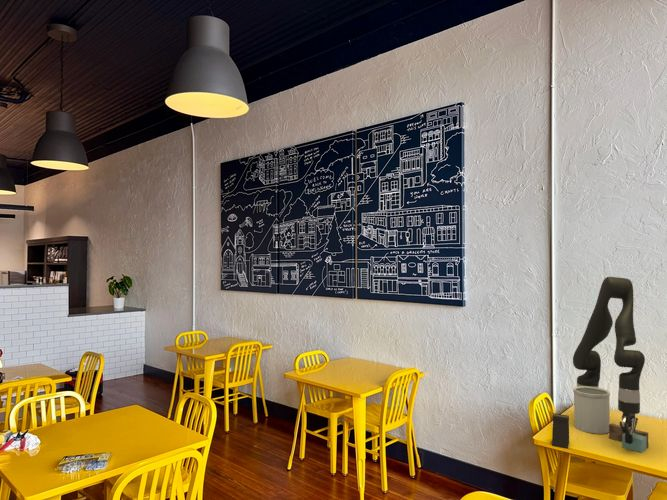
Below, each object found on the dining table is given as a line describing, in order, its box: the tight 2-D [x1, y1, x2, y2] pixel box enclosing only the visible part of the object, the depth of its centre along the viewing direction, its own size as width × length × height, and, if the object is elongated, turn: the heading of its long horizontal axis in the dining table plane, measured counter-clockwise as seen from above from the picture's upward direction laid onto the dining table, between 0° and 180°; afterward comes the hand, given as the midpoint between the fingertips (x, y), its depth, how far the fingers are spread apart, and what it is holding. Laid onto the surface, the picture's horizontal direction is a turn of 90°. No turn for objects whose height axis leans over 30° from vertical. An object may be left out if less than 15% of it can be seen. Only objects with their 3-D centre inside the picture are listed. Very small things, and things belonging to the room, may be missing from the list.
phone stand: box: [551, 412, 570, 449], centre depth 197 cm, size 9×6×12 cm, turn 150°
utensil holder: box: [572, 386, 611, 435], centre depth 216 cm, size 15×15×18 cm
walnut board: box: [608, 423, 649, 450], centre depth 199 cm, size 14×2×6 cm, turn 39°
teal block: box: [621, 433, 647, 453], centre depth 193 cm, size 7×6×5 cm
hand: (628, 443), depth 191 cm, fingers closed
